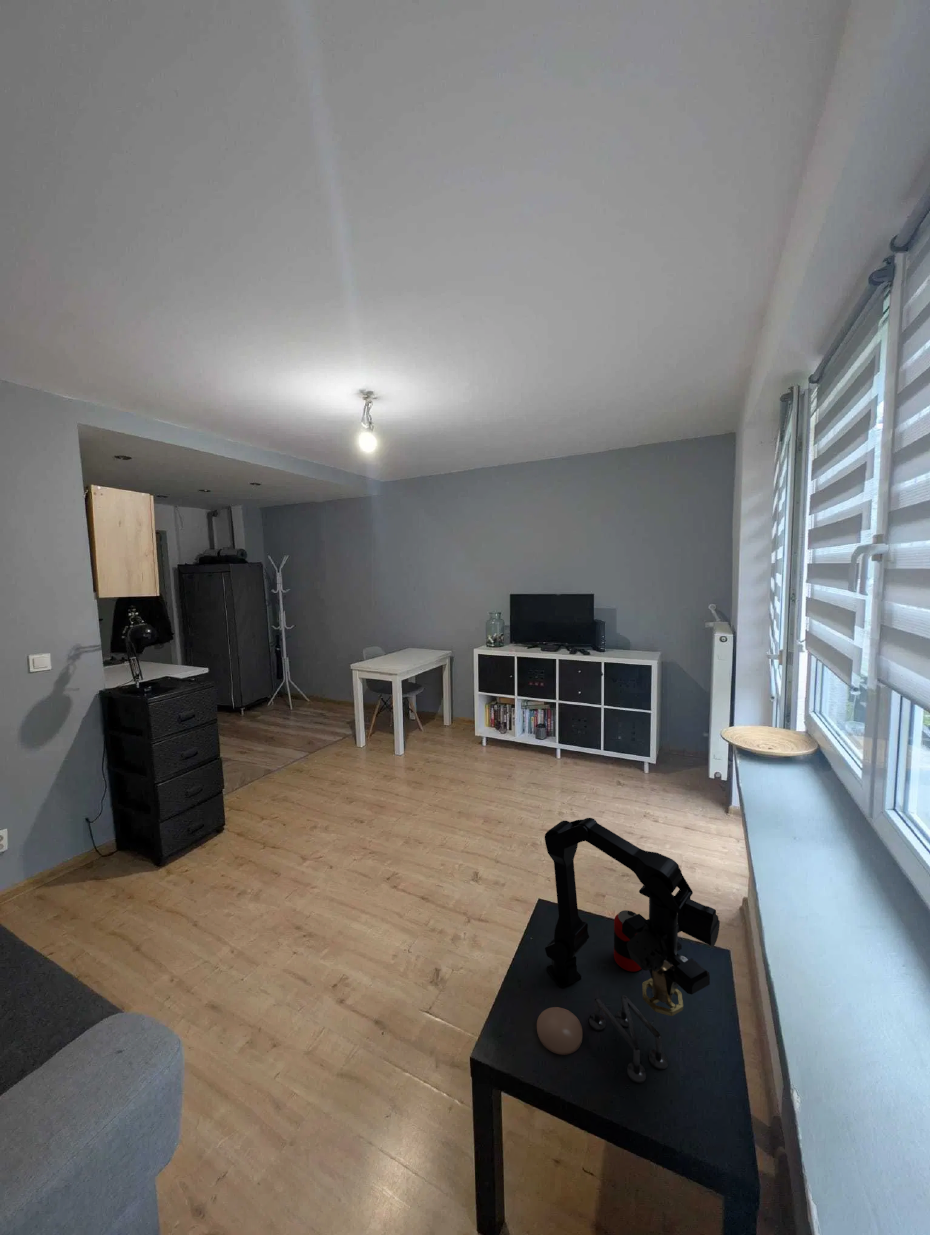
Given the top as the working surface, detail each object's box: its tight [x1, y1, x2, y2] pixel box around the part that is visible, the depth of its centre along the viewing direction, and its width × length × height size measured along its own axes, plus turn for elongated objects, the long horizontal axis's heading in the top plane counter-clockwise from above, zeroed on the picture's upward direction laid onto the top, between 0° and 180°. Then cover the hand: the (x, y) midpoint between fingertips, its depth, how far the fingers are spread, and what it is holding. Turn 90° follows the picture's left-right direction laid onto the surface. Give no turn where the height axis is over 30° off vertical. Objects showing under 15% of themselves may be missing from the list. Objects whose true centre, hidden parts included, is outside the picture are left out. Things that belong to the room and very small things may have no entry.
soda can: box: [613, 909, 642, 973], centre depth 122 cm, size 8×8×12 cm
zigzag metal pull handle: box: [588, 994, 669, 1084], centre depth 101 cm, size 16×10×6 cm, turn 24°
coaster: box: [536, 1006, 583, 1056], centre depth 104 cm, size 10×10×1 cm
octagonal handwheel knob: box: [641, 960, 684, 1017], centre depth 101 cm, size 8×8×7 cm
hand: (662, 986), depth 101 cm, fingers closed on octagonal handwheel knob, 4 cm apart
